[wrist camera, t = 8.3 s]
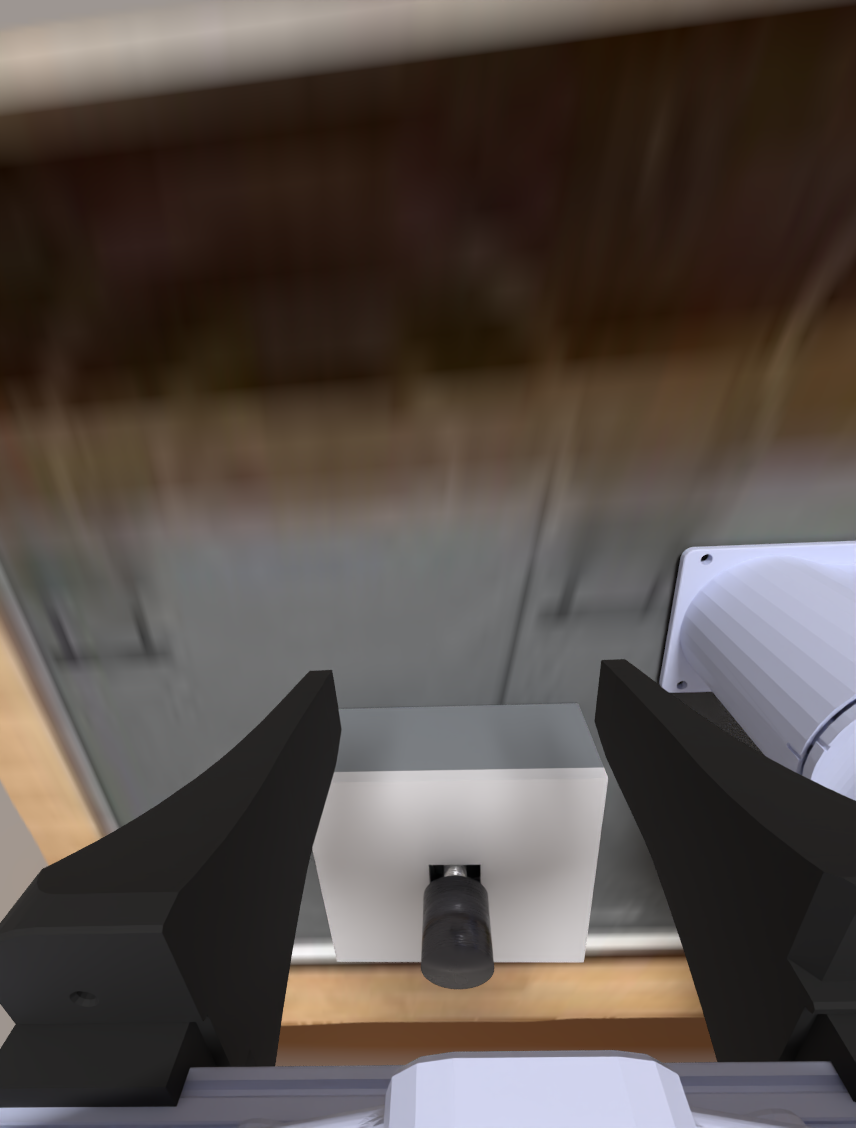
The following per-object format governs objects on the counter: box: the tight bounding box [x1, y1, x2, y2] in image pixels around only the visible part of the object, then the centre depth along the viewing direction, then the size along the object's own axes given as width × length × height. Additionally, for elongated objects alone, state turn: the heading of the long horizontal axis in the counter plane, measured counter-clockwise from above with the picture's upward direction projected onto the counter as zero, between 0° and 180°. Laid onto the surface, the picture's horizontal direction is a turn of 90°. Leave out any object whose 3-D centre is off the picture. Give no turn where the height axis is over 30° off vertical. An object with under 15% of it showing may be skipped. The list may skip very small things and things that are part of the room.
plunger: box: [421, 865, 494, 989], centre depth 24 cm, size 11×11×8 cm
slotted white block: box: [312, 703, 608, 962], centre depth 26 cm, size 14×14×5 cm
